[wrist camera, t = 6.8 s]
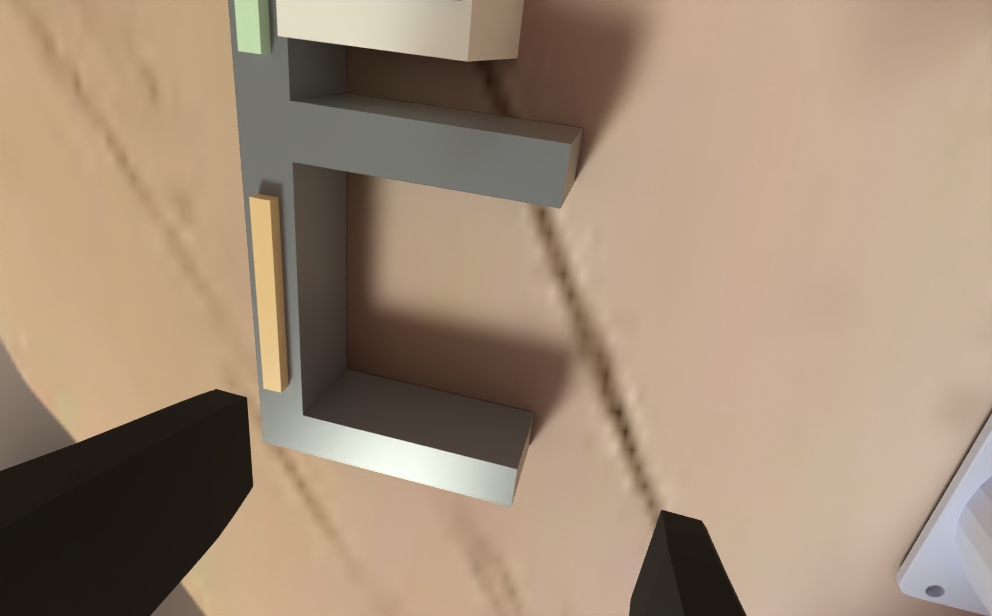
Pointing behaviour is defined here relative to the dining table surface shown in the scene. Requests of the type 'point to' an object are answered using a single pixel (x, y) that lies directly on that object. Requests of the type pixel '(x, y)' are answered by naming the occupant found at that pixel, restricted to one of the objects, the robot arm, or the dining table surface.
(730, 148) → the dining table surface
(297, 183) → the socket panel
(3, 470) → the robot arm
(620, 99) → the dining table surface
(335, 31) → the plug
